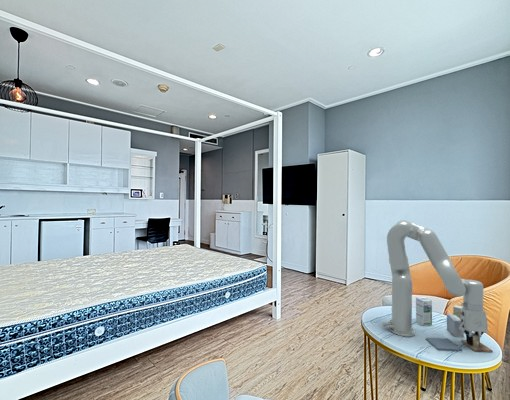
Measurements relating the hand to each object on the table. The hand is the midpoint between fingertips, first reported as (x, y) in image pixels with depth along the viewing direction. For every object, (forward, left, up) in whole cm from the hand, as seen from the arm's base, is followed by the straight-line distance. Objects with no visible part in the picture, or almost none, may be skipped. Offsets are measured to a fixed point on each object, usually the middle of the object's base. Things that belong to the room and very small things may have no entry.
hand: (472, 343), depth 127 cm
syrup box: (-9, +24, -2) cm, 26 cm away
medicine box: (+1, +13, -2) cm, 13 cm away
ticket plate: (-14, 0, -1) cm, 14 cm away
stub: (+2, 0, -1) cm, 2 cm away
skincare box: (+8, +19, -2) cm, 20 cm away
